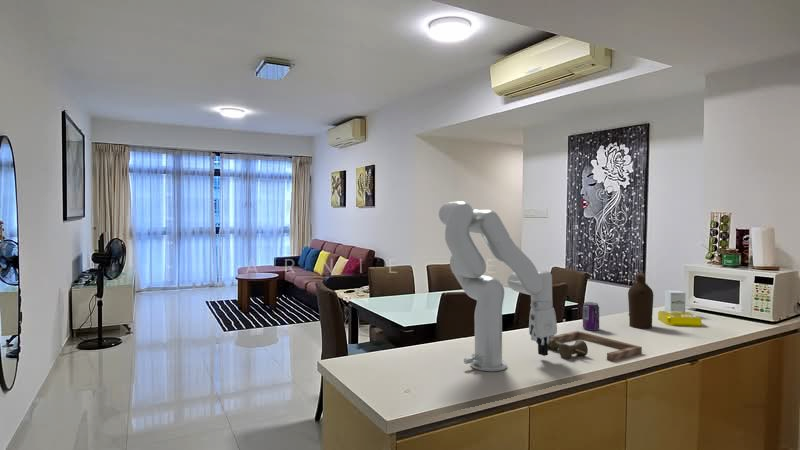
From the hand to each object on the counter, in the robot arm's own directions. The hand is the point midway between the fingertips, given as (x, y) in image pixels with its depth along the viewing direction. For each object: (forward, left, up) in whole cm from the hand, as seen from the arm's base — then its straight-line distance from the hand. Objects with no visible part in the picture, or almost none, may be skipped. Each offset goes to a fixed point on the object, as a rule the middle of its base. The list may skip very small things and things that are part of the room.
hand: (543, 354), depth 167 cm
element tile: (+100, +6, -3) cm, 101 cm away
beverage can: (+53, +20, -2) cm, 57 cm away
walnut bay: (+28, 0, -2) cm, 29 cm away
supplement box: (+115, +16, -2) cm, 117 cm away
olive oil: (+77, +11, -2) cm, 78 cm away
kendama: (+13, +1, -2) cm, 13 cm away
